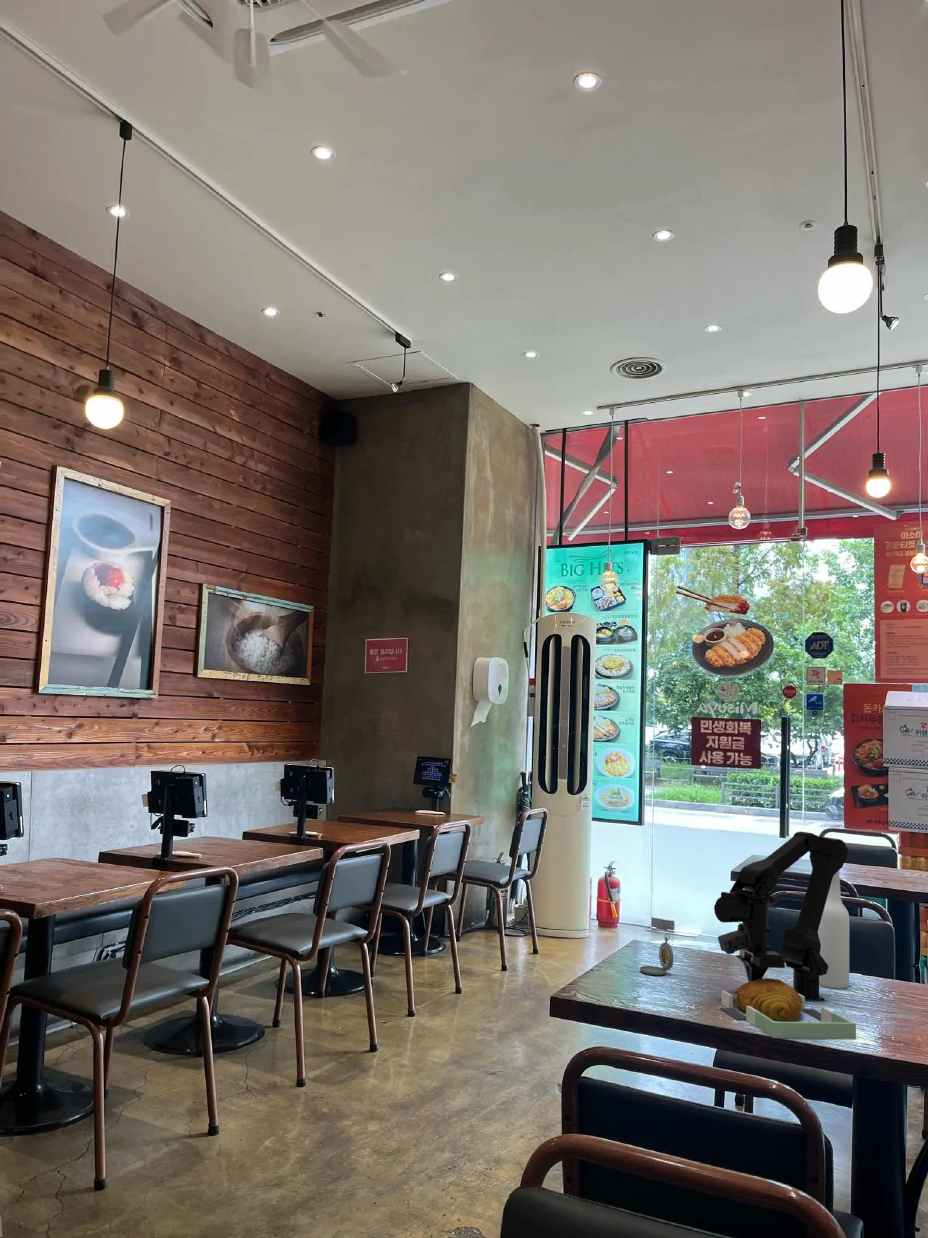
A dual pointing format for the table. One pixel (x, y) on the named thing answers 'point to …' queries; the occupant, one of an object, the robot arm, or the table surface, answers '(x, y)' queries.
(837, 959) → the white bottle
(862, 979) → the table surface
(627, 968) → the table surface
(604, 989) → the table surface
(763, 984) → the croissant
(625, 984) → the table surface
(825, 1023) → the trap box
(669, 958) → the pocket watch
